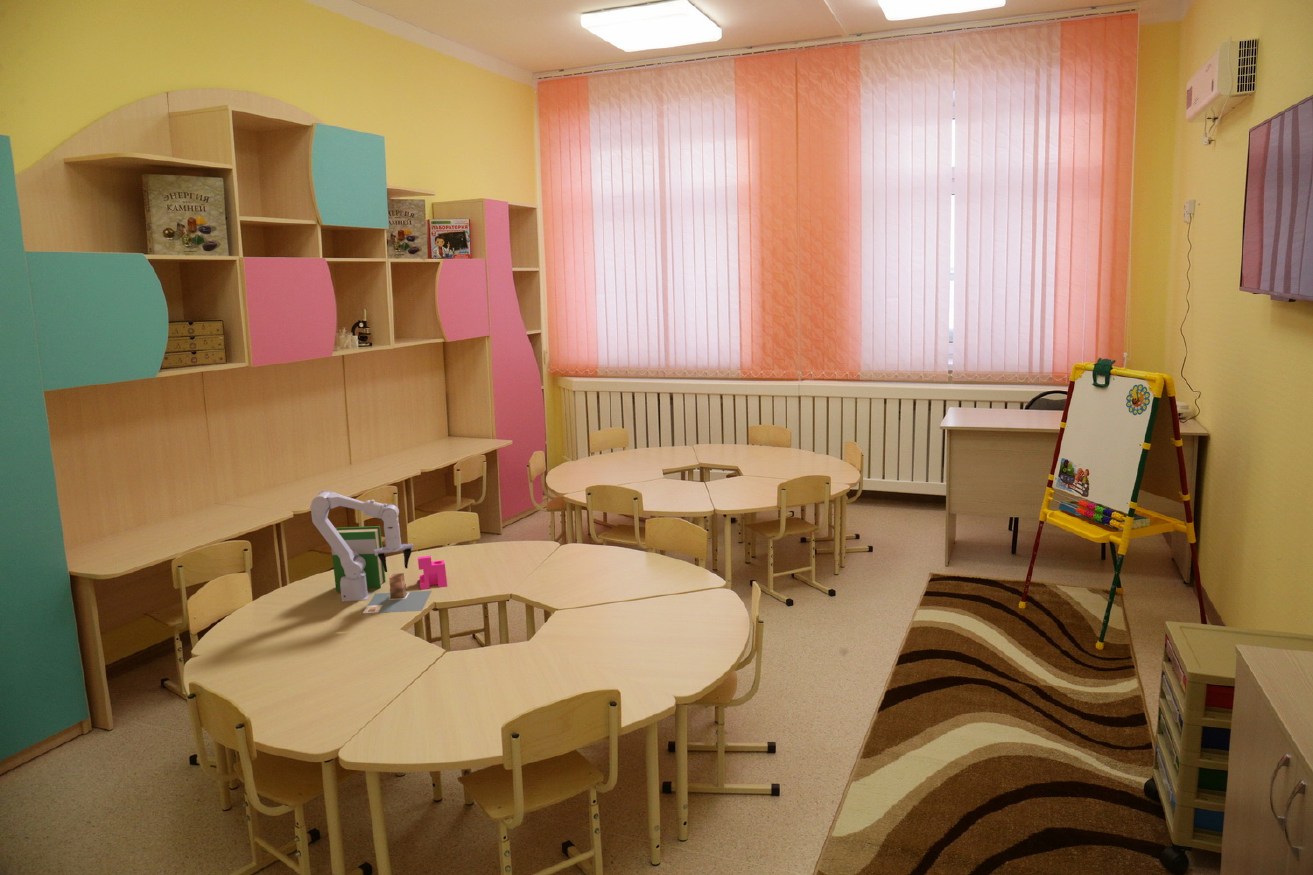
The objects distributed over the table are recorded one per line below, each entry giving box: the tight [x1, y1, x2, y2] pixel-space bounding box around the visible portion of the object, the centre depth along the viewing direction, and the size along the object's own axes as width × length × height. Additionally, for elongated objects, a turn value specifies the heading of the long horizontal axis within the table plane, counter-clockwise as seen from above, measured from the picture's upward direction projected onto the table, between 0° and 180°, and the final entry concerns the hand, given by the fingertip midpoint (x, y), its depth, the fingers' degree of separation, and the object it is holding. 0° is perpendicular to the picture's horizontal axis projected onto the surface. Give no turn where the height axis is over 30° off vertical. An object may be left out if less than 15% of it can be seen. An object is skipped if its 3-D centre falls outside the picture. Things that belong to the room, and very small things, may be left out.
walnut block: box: [389, 583, 408, 599], centre depth 345 cm, size 5×5×4 cm
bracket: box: [417, 555, 448, 591], centre depth 357 cm, size 12×10×10 cm
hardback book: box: [330, 525, 387, 592], centre depth 356 cm, size 18×7×24 cm, turn 90°
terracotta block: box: [389, 572, 406, 590], centre depth 344 cm, size 4×4×4 cm
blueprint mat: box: [361, 590, 432, 615], centre depth 339 cm, size 22×20×1 cm
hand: (396, 569), depth 346 cm, fingers open, 7 cm apart
